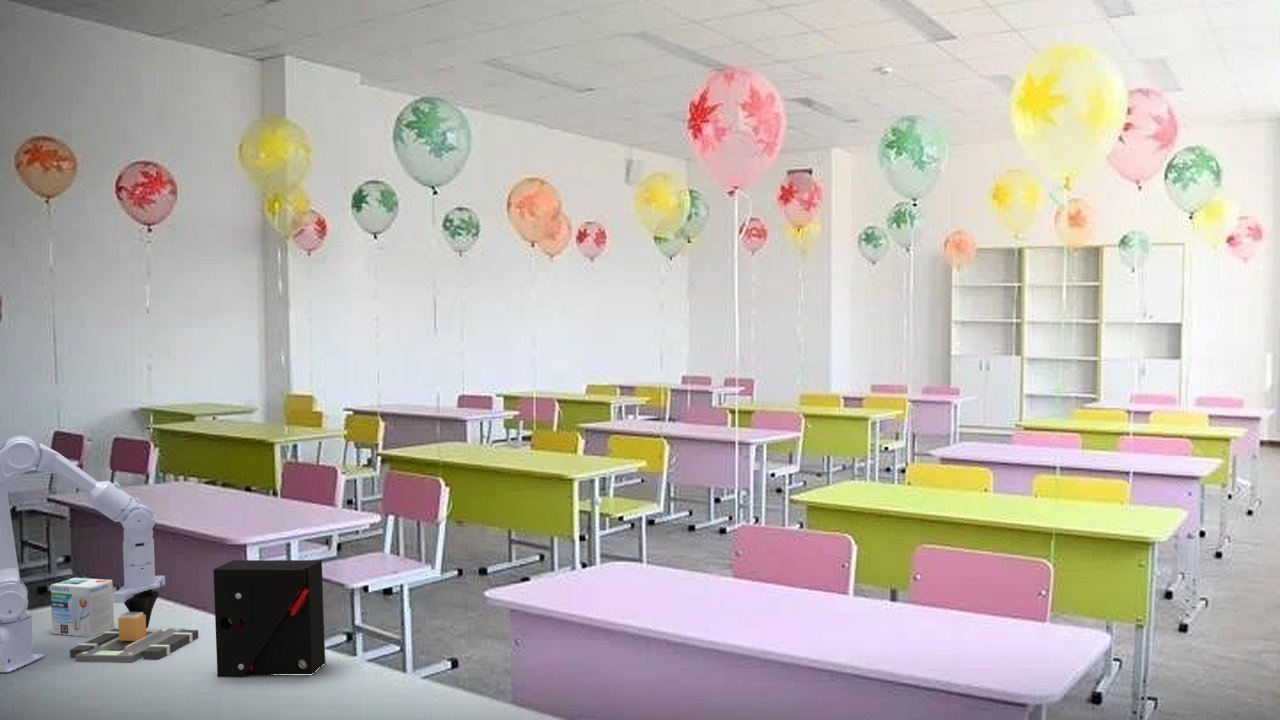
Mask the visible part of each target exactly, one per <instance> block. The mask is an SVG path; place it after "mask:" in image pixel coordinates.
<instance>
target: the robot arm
mask: <svg viewBox="0 0 1280 720" xmlns="http://www.w3.org/2000/svg"><path fill="white" fill-rule="evenodd" d="M38 444H39V445H38ZM34 467H35V471H36V472H43V473H45V472H46V473H53V474H54V475H56V476H57V477H59V478H60V479H63V480H64V481H65V482H66V483H69V484H70V485H72V486H73V487H75V488H77V490H80V491H81V492H82V493H85V495H86V496H87V503H88V505H89V506H91V507H93V508H94V509H95V510H96V511H98V512H100V513H101V514H103V515H104V516H106V517H107V518H108V519H110V520H111V521H113V522H115V523H117V522H118V523H120V524H121V526H122V528H123V542H122V551H123V552H122V555H123V558H122V559H123V577H124V578H123V579H124V580H123V581H124V585H122V587H121V588H119V590H117V591H116V592H113V604H124V606H126V609H127V610H128V612H143V614H145V615H146V628H149V625H150V621H151V616H152V611H153V608H154V606H155V604H156V601H157V599H158V597H159V596H160V594H159V593H160V592H159V591H158V590H156V589H158V588H160V587H161V586H162V587H163V586H165V585H166V575H156V569H155V567H156V566H155V564H156V563H155V542H154V541H155V540H154V538H153V536H154V531H153V528H154V526H155V524H156V519H155V517H154V513H153V512H152V511H151V510H150V508H149V507H148V506H147V505H146V504H145V503H144V502H141V499H140V498H138V497H137V496H136V497H135V498H134V497H133V496H131V495H130V494H128V493H127V492H125V491H124V490H123V489H121V484H119V483H118V482H117V481H115V482H111V481H110V480H103V481H97V480H96V479H94V478H93V477H92V476H90V475H89V474H88V473H87V472H85V471H84V470H82V469H81V468H79V467H78V466H77V465H76V464H74V463H73V462H71V460H69V459H68V458H67V457H65V456H63V454H61V453H59V452H58V451H56V450H54V449H52V448H50V447H49V446H46V445H45V444H43V443H41V442H39V443H38V442H37V441H36V440H35V439H34V438H32V437H30V436H28V435H23V434H21V435H20V434H19V435H15V436H12V437H11V438H9V439H7V440H6V441H5V442H4V443H2V445H0V673H12V672H14V671H17V670H18V669H20V668H22V666H23V667H25V666H27V665H29V664H31V663H33V662H36V661H38V660H40V659H43V658H44V657H45V654H43V653H34V646H33V626H32V625H33V622H32V621H33V619H32V611H30V610H28V607H29V599H28V595H29V591H28V588H27V586H26V585H25V584H24V582H23V581H22V580H21V577H20V570H19V563H18V557H17V551H16V550H17V549H16V544H15V538H14V537H15V535H14V529H13V523H12V515H11V509H10V502H9V496H8V495H9V494H8V488H9V487H10V486H11V485H12V484H13V482H15V480H16V479H18V477H19V476H21V475H22V474H25V473H27V472H28V471H29V470H32V469H33V468H34ZM154 589H155V590H154ZM24 665H25V666H24ZM17 668H18V669H17ZM13 670H14V671H13ZM11 671H12V672H11Z"/></svg>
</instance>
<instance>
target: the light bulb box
mask: <svg viewBox="0 0 1280 720" xmlns="http://www.w3.org/2000/svg"><path fill="white" fill-rule="evenodd" d="M113 585H114V583H113V579H99V578H84V577H72V578H70V579H67V580H63V581H60V582H59V581H58V582H55V583H52V584H50V603H51V604H50V605H51V633H53V634H52V635H61V634H63V635H65V636H71V635H73V637H81V636H82V637H83V638H92V636H93V637H95V635H96V636H98V635H101V634H103V632H105V631H108V630H109V631H111V629H112V630H113V629H115V618H114V617H115V614H114V612H115V611H114V596H113V594H114V590H113ZM100 633H101V634H100ZM97 634H98V635H97ZM82 637H81V638H82Z"/></svg>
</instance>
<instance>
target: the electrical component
mask: <svg viewBox="0 0 1280 720" xmlns="http://www.w3.org/2000/svg"><path fill="white" fill-rule="evenodd" d="M212 572H213V589H214V590H213V591H214V592H213V594H214V595H213V596H214V616H215V618H214V619H215V624H214V625H215V645H216V646H215V649H216V672H217V674H216V675H217V678H235V677H236V678H238V677H240V678H241V677H245V676H274V675H273V674H312V673H314V672H315V671H316V670H317V669H318V668H319V667H321V666H322V665H323V664H324V663H325V664H326V649H325V647H326V646H325V645H326V644H325V621H324V617H325V616H324V597H323V596H324V593H323V589H324V587H323V560H321V559H320V560H319V559H317V560H316V559H315V560H314V559H312V560H310V559H308V560H307V559H305V560H303V559H302V560H300V559H299V560H298V559H296V560H295V559H294V560H292V559H290V560H289V559H287V560H285V559H284V560H283V559H279V560H277V559H273V560H272V559H271V560H270V559H267V560H266V559H262V560H261V559H259V560H258V559H256V560H254V559H253V560H252V559H246V560H243V559H241V560H239V559H236V560H235V559H234V560H230V561H229V562H227V563H225V564H222V565H220V566H218V567H216V568H213V571H212ZM271 674H272V675H271Z"/></svg>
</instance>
